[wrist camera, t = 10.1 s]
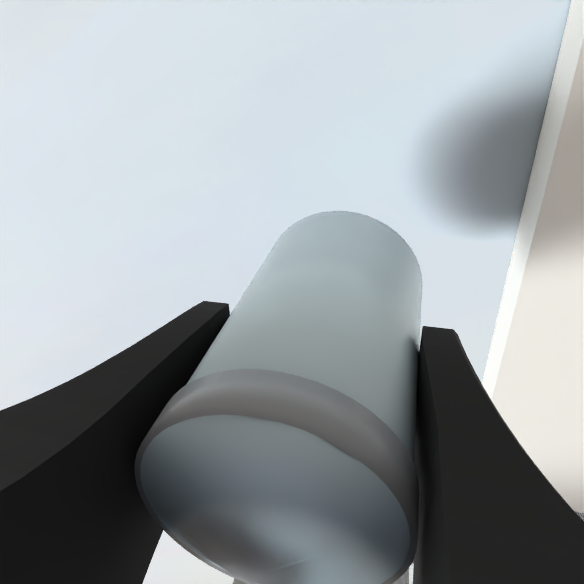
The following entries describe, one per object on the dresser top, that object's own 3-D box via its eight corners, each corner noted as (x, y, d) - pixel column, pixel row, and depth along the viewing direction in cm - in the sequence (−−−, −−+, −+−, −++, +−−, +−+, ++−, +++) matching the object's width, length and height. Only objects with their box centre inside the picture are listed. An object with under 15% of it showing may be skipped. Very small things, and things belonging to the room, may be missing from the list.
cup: (438, 215, 11) (441, 446, 6) (414, 359, 14) (399, 624, 8) (260, 200, 12) (107, 384, 7) (267, 336, 15) (158, 561, 9)
